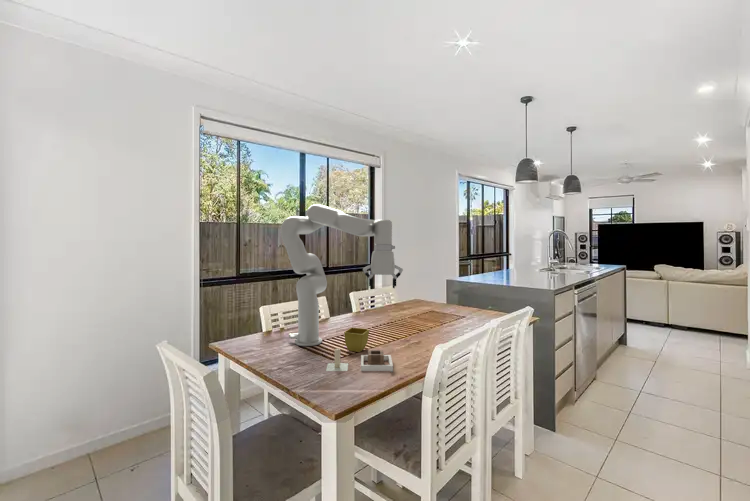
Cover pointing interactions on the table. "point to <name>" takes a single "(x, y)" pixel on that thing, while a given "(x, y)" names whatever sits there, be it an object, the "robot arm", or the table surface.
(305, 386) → the table surface
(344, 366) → the peg stand
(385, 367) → the light grey square frame
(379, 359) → the napkin ring
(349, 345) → the flower pot
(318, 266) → the robot arm
